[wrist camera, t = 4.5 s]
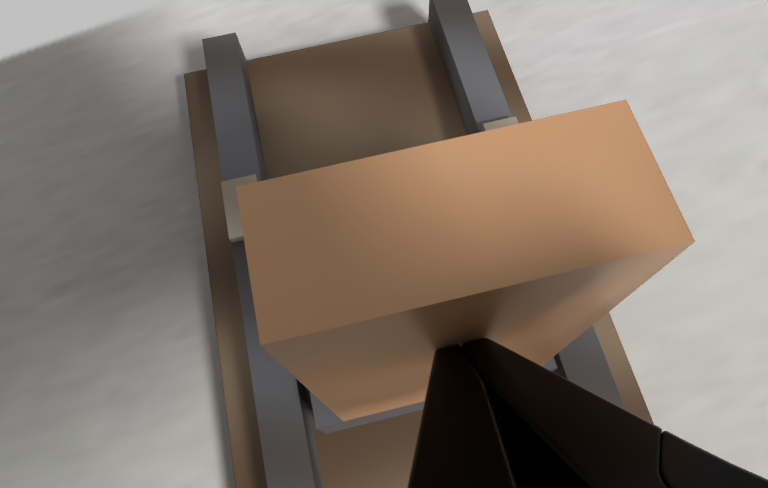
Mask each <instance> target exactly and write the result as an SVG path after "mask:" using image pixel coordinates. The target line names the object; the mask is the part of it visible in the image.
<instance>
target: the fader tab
mask: <svg viewBox="0 0 768 488" xmlns="http://www.w3.org/2000/svg"><path fill="white" fill-rule="evenodd" d="M236 192H237V198H238V205H239V211H240V218H241V224H242V230H243V237H244V243H245V250H246V256H247V263H248V269H249V276H250V282H251V289H252V295H253V302H254V308H255V315H256V321H257V328H258V334H259V341H260V346H261V347H262V348H264V349H265V350H266V351H267V352H268V353H269V354H270V355H271V356H272V357H273V358H274V359H276V360H277V361H278V362H279V363H280V364H281V365H282V366H283V367H284V368H285V369H286V370H288V371H289V372H290V373H291V374H292V375H293V376H294V377H295V378H296V379H297V380H298V381H300V382H301V383H302V384H303V385H304V386H305V387H306V388H307V389H308V390H309V392H310V397H311V403H312V408H313V414H314V419H315V425H316V428H317V429H318V430H320V431H322V432H324V433H326V434H328V433H332V432H336V431H340V430H344V429H348V428H352V427H356V426H360V425H364V424H368V423H372V422H376V421H380V420H384V419H388V418H392V417H396V416H399V415H403V414H407V413H411V412H415V411H419V410H423V407H424V402H425V397H426V392H427V387H428V382H429V377H430V372H431V367H432V362H433V357H434V353H435V351H436V350H437V349H439V348H443V347H447V346H452V345H456V344H458V345H460V346H461V347H462V344H463V343H465V342H468V341H472V340H476V339H480V338H489V339H491V340H493V341H495V342H496V343H498V344H500V345H502V346H504V347H506V348H508V349H510V350H512V351H514V352H516V353H518V354H519V355H521V356H523V357H525V358H527V359H529V360H531V361H533V362H535V363H537V364H539V365H541V366H543V367H544V368H546V369H548V370H550V371H552V372H553V371H554V370H556V369H557V365H556V362H555V359H554V356H555V355H556V354H557V353H559V352H560V351H561V350H562V349H564V348H565V347H566V346H567V345H568V344H570V343H571V342H572V341H573V340H575V339H576V338H577V337H578V336H580V335H581V334H582V333H583V332H584V331H586V330H587V329H588V328H589V327H591V326H592V325H593V324H594V323H595V322H597V321H598V320H599V319H600V318H602V317H603V316H604V315H605V314H607V313H608V312H609V311H610V310H611V309H613V308H614V307H615V306H616V305H618V304H619V303H620V302H621V301H622V300H624V299H625V298H626V297H627V296H629V295H630V294H631V293H632V292H634V291H635V290H636V289H637V288H638V287H640V286H641V285H642V284H643V283H645V282H646V281H647V280H648V279H649V278H651V277H652V276H653V275H654V274H656V273H657V272H658V271H659V270H661V269H662V268H663V267H664V266H665V265H667V264H668V263H669V262H670V261H672V260H673V259H674V258H675V257H676V256H678V255H679V254H680V253H681V252H683V251H684V250H685V249H686V248H688V247H689V246H690V245H691V244H692V243H694V242H695V241H694V238H693V236H692V234H691V232H690V230H689V228H688V226H687V224H686V222H685V220H684V218H683V216H682V214H681V212H680V210H679V208H678V205H677V203H676V201H675V199H674V197H673V195H672V193H671V191H670V189H669V187H668V185H667V183H666V181H665V179H664V177H663V175H662V173H661V170H660V168H659V166H658V164H657V162H656V160H655V158H654V156H653V154H652V152H651V150H650V148H649V146H648V144H647V142H646V140H645V138H644V135H643V133H642V131H641V129H640V127H639V125H638V123H637V121H636V119H635V117H634V115H633V113H632V111H631V109H630V107H629V105H628V102H627V100H623V101H618V102H614V103H609V104H605V105H600V106H596V107H591V108H587V109H582V110H578V111H573V112H569V113H564V114H560V115H555V116H551V117H546V118H542V119H537V120H533V121H528V122H524V123H519V124H515V125H511V126H506V127H502V128H497V129H493V130H488V131H484V132H479V133H475V134H470V135H466V136H461V137H457V138H452V139H448V140H443V141H439V142H434V143H430V144H425V145H421V146H416V147H412V148H407V149H403V150H398V151H394V152H389V153H385V154H380V155H376V156H371V157H367V158H362V159H358V160H353V161H349V162H344V163H340V164H335V165H331V166H326V167H322V168H317V169H313V170H309V171H304V172H300V173H295V174H291V175H286V176H282V177H277V178H273V179H268V180H264V181H259V182H255V183H250V184H246V185H241V186H237V187H236Z"/></svg>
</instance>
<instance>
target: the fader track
mask: <svg viewBox="0 0 768 488" xmlns="http://www.w3.org/2000/svg"><path fill="white" fill-rule="evenodd" d="M202 41H203V48H204V54H205V61H206V68H207V69H205V70H200V71H196V72H191V73H186V74H184V78H185V86H186V94H187V102H188V110H189V118H190V126H191V134H192V142H193V150H194V158H195V166H196V173H197V181H198V189H199V197H200V205H201V213H202V221H203V229H204V237H205V245H206V253H207V261H208V269H209V277H210V285H211V293H212V301H213V309H214V317H215V325H216V333H217V341H218V348H219V356H220V364H221V372H222V380H223V388H224V396H225V404H226V412H227V420H228V428H229V436H230V444H231V452H232V460H233V468H234V476H235V484H236V488H407V486H408V482H409V477H410V472H411V467H412V462H413V457H414V452H415V447H416V442H417V437H418V432H419V427H420V422H421V417H422V412H423V410H419V411H415V412H411V413H407V414H403V415H399V416H396V417H392V418H388V419H384V420H380V421H376V422H372V423H368V424H364V425H360V426H356V427H352V428H348V429H344V430H340V431H336V432H332V433H328V434H326V433H324V432H322V431H320V430H318V429H317V428H316V425H315V419H314V414H313V408H312V403H311V397H310V392H309V390H308V389H307V388H306V387H305V386H304V385H303V384H302V383H301V382H300V381H298V380H297V379H296V378H295V377H294V376H293V375H292V374H291V373H290V372H289V371H288V370H286V369H285V368H284V367H283V366H282V365H281V364H280V363H279V362H278V361H277V360H276V359H274V358H273V357H272V356H271V355H270V354H269V353H268V352H267V351H266V350H265V349H264V348H262V347H261V346H260V341H259V334H258V328H257V321H256V315H255V308H254V302H253V295H252V289H251V282H250V276H249V269H248V263H247V256H246V250H245V243H244V237H243V230H242V224H241V218H240V211H239V205H238V198H237V192H236V187H237V186H241V185H246V184H250V183H255V182H259V181H264V180H268V179H273V178H277V177H282V176H286V175H291V174H295V173H300V172H304V171H309V170H313V169H317V168H322V167H326V166H331V165H335V164H340V163H344V162H349V161H353V160H358V159H362V158H367V157H371V156H376V155H380V154H385V153H389V152H394V151H398V150H403V149H407V148H412V147H416V146H421V145H425V144H430V143H434V142H439V141H443V140H448V139H452V138H457V137H461V136H466V135H470V134H475V133H479V132H484V131H488V130H493V129H497V128H502V127H506V126H511V125H515V124H519V123H524V122H528V121H532V119H531V117H530V114H529V112H528V109H527V107H526V104H525V102H524V100H523V97H522V95H521V92H520V90H519V87H518V85H517V82H516V80H515V77H514V75H513V72H512V70H511V67H510V65H509V62H508V60H507V57H506V55H505V52H504V50H503V47H502V45H501V42H500V40H499V37H498V35H497V32H496V30H495V27H494V25H493V22H492V20H491V17H490V15H489V12H488V10H486V11H481V12H476V13H472V11H471V9H470V6H469V4H468V1H467V0H430V1H429V20H428V23H424V24H419V25H414V26H410V27H405V28H400V29H395V30H391V31H386V32H381V33H376V34H372V35H367V36H362V37H357V38H353V39H348V40H343V41H338V42H334V43H329V44H324V45H319V46H315V47H310V48H305V49H300V50H296V51H291V52H286V53H281V54H277V55H272V56H267V57H262V58H257V59H253V60H248V61H246V59H245V56H244V54H243V51H242V48H241V46H240V43H239V41H238V38H237V35H236V33H231V34H226V35H222V36H217V37H212V38H207V39H202ZM554 359H555V362H556V365H557V369H556V370H554V371H553V372H554V373H556V374H558V375H560V376H562V377H564V378H566V379H567V380H569V381H571V382H573V383H575V384H577V385H579V386H581V387H583V388H585V389H587V390H589V391H590V392H592V393H594V394H596V395H598V396H600V397H602V398H604V399H606V400H608V401H610V402H612V403H614V404H615V405H617V406H619V407H621V408H623V409H625V410H627V411H629V412H631V413H633V414H635V415H637V416H638V417H640V418H642V419H644V420H646V421H648V422H650V423H652V424H654V423H653V421H652V418H651V416H650V413H649V411H648V409H647V406H646V404H645V401H644V399H643V396H642V394H641V391H640V389H639V386H638V384H637V381H636V379H635V376H634V374H633V371H632V369H631V366H630V364H629V361H628V359H627V356H626V354H625V351H624V349H623V346H622V344H621V341H620V339H619V336H618V334H617V331H616V329H615V326H614V324H613V321H612V319H611V316H610V314H609V312H608V313H607V314H605V315H604V316H603V317H602V318H600V319H599V320H598V321H597V322H595V323H594V324H593V325H592V326H591V327H589V328H588V329H587V330H586V331H584V332H583V333H582V334H581V335H580V336H578V337H577V338H576V339H575V340H573V341H572V342H571V343H570V344H568V345H567V346H566V347H565V348H564V349H562V350H561V351H560V352H559V353H557V354H556V355H555V356H554Z"/></svg>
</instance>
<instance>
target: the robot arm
mask: <svg viewBox="0 0 768 488" xmlns="http://www.w3.org/2000/svg"><path fill="white" fill-rule="evenodd" d="M407 488H768V480H767V479H765V478H763V477H761V476H758V475H756V474H754V473H752V472H749V471H747V470H745V469H743V468H740V467H738V466H736V465H734V464H731V463H729V462H727V461H725V460H723V459H721V458H719V457H717V456H715V455H713V454H711V453H709V452H707V451H705V450H703V449H701V448H699V447H697V446H695V445H693V444H691V443H689V442H687V441H685V440H683V439H681V438H679V437H677V436H675V435H673V434H672V433H670V432H668V431H664V432H663V433H662V429H661V428H660V427H658V426H656V425H654V424H652V423H650V422H648V421H646V420H644V419H642V418H640V417H638V416H637V415H635V414H633V413H631V412H629V411H627V410H625V409H623V408H621V407H619V406H617V405H615V404H614V403H612V402H610V401H608V400H606V399H604V398H602V397H600V396H598V395H596V394H594V393H592V392H590V391H589V390H587V389H585V388H583V387H581V386H579V385H577V384H575V383H573V382H571V381H569V380H567V379H566V378H564V377H562V376H560V375H558V374H556V373H554V372H552V371H550V370H548V369H546V368H544V367H543V366H541V365H539V364H537V363H535V362H533V361H531V360H529V359H527V358H525V357H523V356H521V355H519V354H518V353H516V352H514V351H512V350H510V349H508V348H506V347H504V346H502V345H500V344H498V343H496V342H495V341H493V340H491V339H489V338H480V339H476V340H472V341H468V342H465V343H463V344H462V347H461V346H460V345H458V344H456V345H452V346H447V347H443V348H439V349H437V350H436V351H435V353H434V357H433V362H432V367H431V372H430V377H429V382H428V387H427V392H426V397H425V402H424V407H423V412H422V417H421V422H420V427H419V432H418V437H417V442H416V447H415V452H414V457H413V462H412V467H411V472H410V477H409V482H408V486H407Z"/></svg>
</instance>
